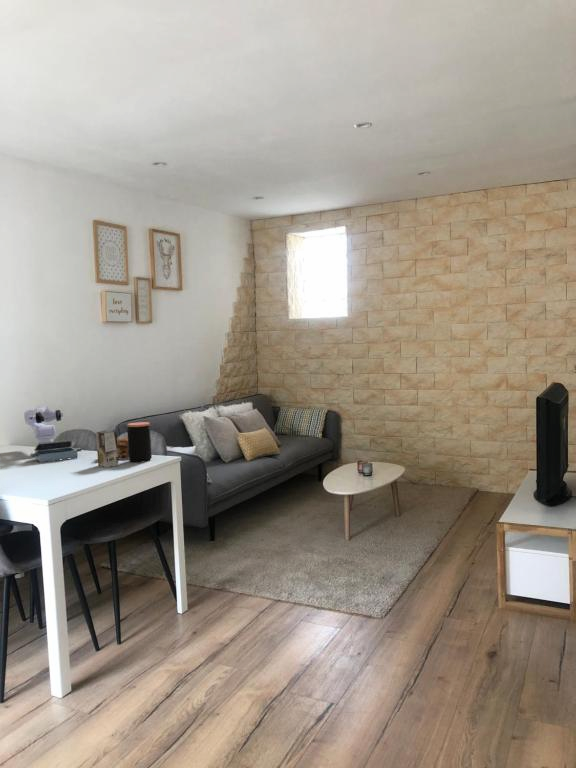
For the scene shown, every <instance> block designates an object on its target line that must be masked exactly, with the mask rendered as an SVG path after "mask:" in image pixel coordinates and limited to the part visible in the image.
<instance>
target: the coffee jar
mask: <svg viewBox="0 0 576 768" xmlns="http://www.w3.org/2000/svg"><path fill="white" fill-rule="evenodd" d="M126 424H127V425H126V426H127V432H126V433H127V438H128V450H129V458H128V459H129V461H130V462H131V461H132V462H131V463H142V462H141V461H146V462H148V461H147V460H150V459H151V460H152V453H153V452H152V442H151V441H152V439H151V438H152V437H151V428H150V425H151V424H150V422H149V421H148V422H147V421H141V422H131V423H126ZM151 460H150V461H151Z"/></svg>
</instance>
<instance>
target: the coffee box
mask: <svg viewBox="0 0 576 768" xmlns="http://www.w3.org/2000/svg"><path fill="white" fill-rule="evenodd" d="M117 433H118V432H117V431H116V430H108V429H107V430H100V431H96V432H95V438H96V441H95V442H96V452H97V453H96V454H97V465H100V466H99V467H102V466H104V468H111V467H110V466H113V467H117V466H116V465H118V466H119V459H118V450H117V439H118V436H117Z"/></svg>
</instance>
